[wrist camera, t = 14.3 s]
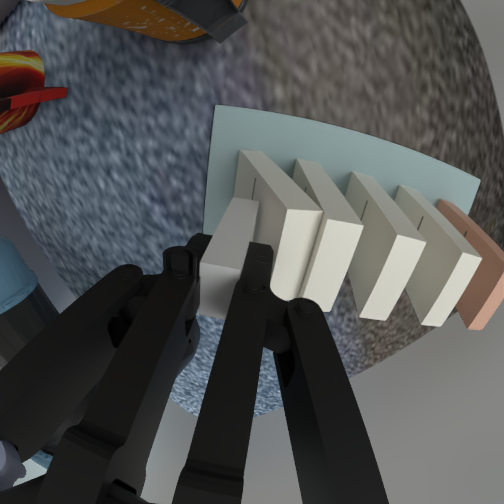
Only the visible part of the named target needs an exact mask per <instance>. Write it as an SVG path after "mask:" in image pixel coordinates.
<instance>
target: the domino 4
mask: <svg viewBox="0 0 504 504" xmlns="http://www.w3.org/2000/svg"><path fill="white" fill-rule="evenodd" d="M394 202H395V203H396V204H397V205H398V206H399V208H400V209H401V210H402V211H403V212H404V214H405V215H406V216H407V217H408V219H409V220H410V221H411V222H412V224H413V225H414V226H415V228H416V229H417V230H418V231H419V233H420V234H421V235H422V237H423V238H424V239H425V241H426V242H427V243H426V245H425V247H424V249H423V251H422V253H421V256H420V258H419V260H418V262H417V264H416V266H415V268H414V270H413V272H412V274H411V276H410V278H409V280H408V282H407V284H406V285H405V289H406V291H407V293H408V296H409V298H410V300H411V302H412V305H413V307H414V309H415V312H416V314H417V317H418V319H419V321H420V324H421V325H429V326H441V325H442V324H443V323H444V321H445V320H446V318H447V317H448V315H449V314H450V312H451V311H452V309H453V308H454V306H455V305H456V303H457V302H458V300H459V298H460V297H461V295H462V294H463V292H464V290H465V289H466V287H467V285H468V283H469V282H470V280H471V278H472V276H473V275H474V273H475V271H476V269H477V267H478V266H479V264H480V262H481V260H482V257H481V256H480V255H479V254H478V252H477V251H476V250H475V249H474V248H473V247H472V246H471V244H470V243H469V242H468V241H467V240H466V239H465V238H464V237H463V236H462V234H461V233H460V232H459V231H458V230H457V229H456V228H455V227H454V226H453V225H452V224H451V223H450V222H449V221H448V220H447V219H446V218H445V217H444V216H443V215H442V214H441V213H440V212H439V211H438V210H437V209H436V208H435V207H434V206H433V205H432V204H431V203H430V202H429V201H428V200H427V199H426V198H425V197H424V196H422V195H421V194H420V193H419V192H418V191H417V190H415V189H412V188H409V187H406V186H403V185H399V188H398V191H397V194H396V197H395V200H394Z"/></svg>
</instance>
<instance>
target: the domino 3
mask: <svg viewBox="0 0 504 504" xmlns="http://www.w3.org/2000/svg"><path fill="white" fill-rule="evenodd" d="M345 199H346V200H347V202H348V203H349V204H350V206H351V207H352V209H353V210H354V212H355V213H356V215H357V216H358V218H359V219H360V220H361V222H362V223H363V225H364V227H363V230H362V233H361V235H360V238H359V241H358V244H357V246H356V249H355V252H354V254H353V257H352V259H351V262H350V265H349V267H348V274H349V278H350V282H351V286H352V290H353V294H354V298H355V302H356V306H357V311H358V315H359V317H362V318H369V319H377V320H385V321H386V319H387V318H388V316H389V314H390V312H391V311H392V309H393V307H394V305H395V304H396V302H397V300H398V298H399V297H400V295H401V293H402V291H403V289H404V287H405V285H406V284H407V282H408V280H409V278H410V276H411V274H412V272H413V270H414V268H415V266H416V264H417V262H418V260H419V258H420V256H421V253H422V251H423V249H424V247H425V245H426V243H427V242H426V241H425V239H424V238H423V237H422V235H421V234H420V233H419V231H418V230H417V229H416V228H415V226H414V225H413V224H412V222H411V221H410V220H409V219H408V217H407V216H406V215H405V214H404V212H403V211H402V210H401V209H400V208H399V206H398V205H397V204H396V203H395V202H394V201H393V199H392V198H391V197H390V196H389V195H388V194H387V192H386V191H385V190H384V189H383V188H382V187H381V186H380V185H379V183H378V182H377V181H376V180H375V179H374V178H373V177H372V176H369V175H366V174H362V173H358V172H355V171H352V173H351V177H350V181H349V184H348V188H347V191H346V195H345Z"/></svg>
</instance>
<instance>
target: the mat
mask: <svg viewBox="0 0 504 504" xmlns="http://www.w3.org/2000/svg"><path fill="white" fill-rule="evenodd" d="M240 149H243V150H255V151H262V152H263V153H265V154H266V155H267V156H268V157H269V158H270V159H271V160H272V161H273V162H274V163H275V164H276V165H277V166H278V167H279V168H281V169H282V170H283V171H284V172H285V173H286V174H287V175H288V176H289V177H290V178H291V179H292V178H293V173H294V169H295V164H296V159H297V158H298V159H304V160H309V161H314V162H318V163H319V164H320V165H321V166H322V168H323V169H324V170H325V172H326V173H327V174H328V176H329V177H330V178H331V180H332V181H333V182H334V184H335V185H336V186H337V188H338V189H339V190H340V192H341V193H342V195H343V196H344V197H345V195H346V191H347V188H348V184H349V181H350V177H351V173H352V171H355V172H358V173H362V174H366V175H369V176H372V177H373V178H374V179H375V180H376V181H377V182H378V183H379V185H380V186H381V187H382V188H383V189H384V190H385V191H386V192H387V194H388V195H389V196H390V197H391V198H392V199H393V201H394V200H395V197H396V194H397V191H398V188H399V185H403V186H406V187H409V188H412V189H415V190H417V191H418V192H419V193H420V194H421V195H422V196H424V197H425V198H426V199H427V200H428V201H429V202H430V203H431V204H432V205H433V206H434V207H435V208H436V207H437V205H438V202H439V199H440V198H441V199H443V200H446V201H449V202H451V203H454V204H455V205H456V206H457V207H458V208H459V209H460V210H462V211H463V212H464V213H465V214H466V215H467V216H468V213H469V211H470V208H471V206H472V203H473V200H474V198H475V195H476V192H477V189H478V187H479V184H480V181H481V180H480V179H478V178H476V177H474V176H472V175H470V174H468V173H466V172H464V171H462V170H460V169H457V168H455V167H453V166H451V165H449V164H446V163H444V162H442V161H439V160H437V159H435V158H432V157H430V156H427V155H425V154H422V153H420V152H417V151H414V150H412V149H409V148H406V147H404V146H401V145H398V144H395V143H392V142H389V141H386V140H383V139H380V138H377V137H374V136H371V135H367V134H364V133H361V132H357V131H354V130H350V129H346V128H343V127H339V126H335V125H331V124H327V123H323V122H319V121H314V120H310V119H305V118H300V117H296V116H291V115H285V114H280V113H274V112H268V111H262V110H256V109H249V108H241V107H233V106H225V105H215V112H214V120H213V129H212V137H211V146H210V156H209V166H208V176H207V187H206V199H205V212H204V225H203V234H208V235H214V233H215V231H216V229H217V227H218V225H219V223H220V221H221V219H222V217H223V215H224V214H225V212H226V210H227V208H228V206H229V204H230V202H231V200H232V198H233V196H234V189H235V181H236V174H237V166H238V159H239V152H240Z"/></svg>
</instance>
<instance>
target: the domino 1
mask: <svg viewBox="0 0 504 504" xmlns="http://www.w3.org/2000/svg"><path fill="white" fill-rule="evenodd" d="M233 197H236V198H242V199H248V200H253V201H259V207H258V213H257V220H256V226H255V232H254V238H253V242H256V243H262V244H267V245H271V247H272V249H273V251H274V255H273V264H272V272H271V281H270V288H271V290H272V292H273V293H274V294H275V295H276V296H277V297H279V298H281V299H283V300H292V299H294V298H297V297H298V294H299V291H300V288H301V285H302V282H303V278H304V275H305V272H306V269H307V266H308V262H309V259H310V256H311V253H312V249H313V246H314V243H315V239H316V236H317V232H318V229H319V225H320V222H321V218H322V215H323V210H322V209H321V208H320V207H319V206H318V205H317V204H316V203H315V202H314V201H313V200H312V199H311V198H310V197H309V196H308V195H307V194H306V193H305V192H304V191H303V190H302V189H301V188H300V187H299V186H298V185H297V184H296V183H295V182H294V181H293V180H292V179H291V178H290V177H289V176H288V175H287V174H286V173H285V172H284V171H283V170H282V169H281V168H279V167H278V166H277V165H276V164H275V163H274V162H273V161H272V160H271V159H270V158H269V157H268V156H267V155H266V154H265V153H263V152H262V151H255V150H243V149H240V152H239V159H238V166H237V174H236V181H235V189H234V196H233Z"/></svg>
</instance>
